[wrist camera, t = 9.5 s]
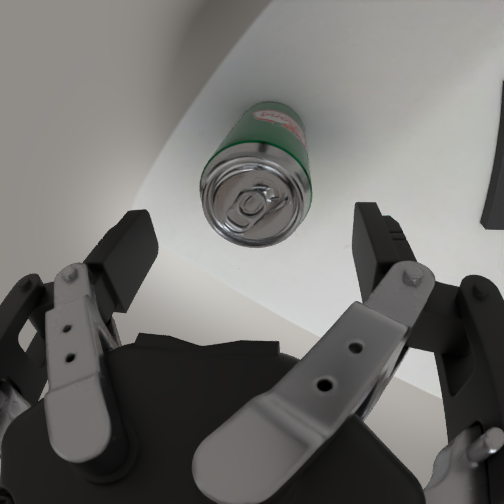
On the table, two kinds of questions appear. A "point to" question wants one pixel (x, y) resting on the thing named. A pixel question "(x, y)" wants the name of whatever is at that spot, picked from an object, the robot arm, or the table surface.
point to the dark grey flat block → (496, 185)
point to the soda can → (259, 178)
